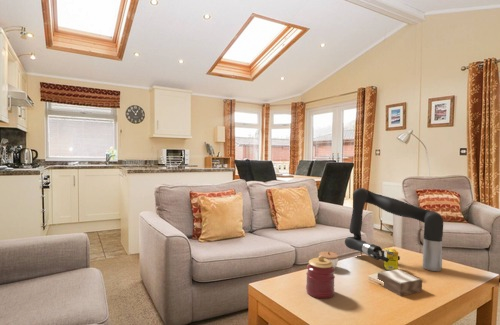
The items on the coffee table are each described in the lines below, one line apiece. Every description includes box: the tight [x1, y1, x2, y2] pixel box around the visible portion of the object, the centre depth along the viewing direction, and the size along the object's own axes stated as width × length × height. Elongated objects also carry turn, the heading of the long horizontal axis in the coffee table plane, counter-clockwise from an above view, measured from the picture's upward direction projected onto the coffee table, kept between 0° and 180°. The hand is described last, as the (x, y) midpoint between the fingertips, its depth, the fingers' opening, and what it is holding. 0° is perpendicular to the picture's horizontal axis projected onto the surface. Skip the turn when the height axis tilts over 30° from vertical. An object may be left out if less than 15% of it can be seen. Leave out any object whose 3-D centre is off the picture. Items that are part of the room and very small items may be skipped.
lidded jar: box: [318, 251, 339, 268], centre depth 172 cm, size 11×11×9 cm
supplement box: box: [383, 247, 399, 271], centre depth 167 cm, size 6×6×11 cm
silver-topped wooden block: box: [377, 269, 423, 297], centre depth 148 cm, size 14×14×6 cm
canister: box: [305, 255, 336, 300], centre depth 140 cm, size 13×13×18 cm
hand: (393, 259), depth 165 cm, fingers closed on supplement box, 8 cm apart
